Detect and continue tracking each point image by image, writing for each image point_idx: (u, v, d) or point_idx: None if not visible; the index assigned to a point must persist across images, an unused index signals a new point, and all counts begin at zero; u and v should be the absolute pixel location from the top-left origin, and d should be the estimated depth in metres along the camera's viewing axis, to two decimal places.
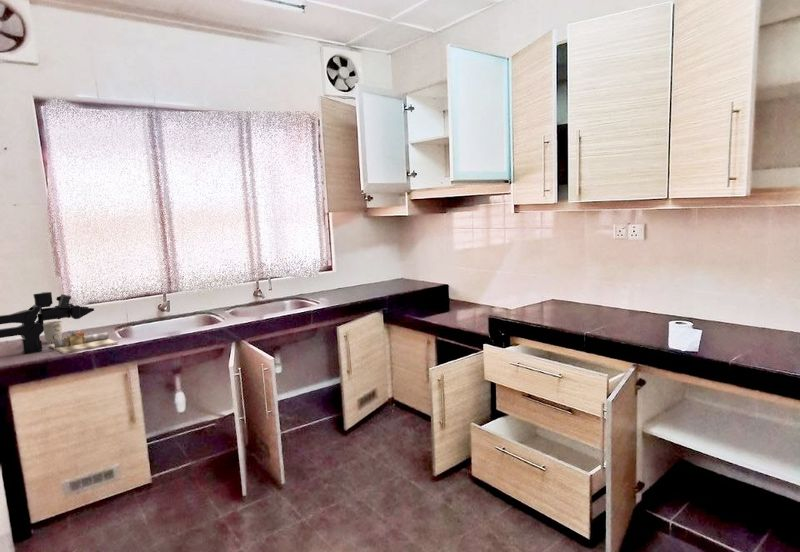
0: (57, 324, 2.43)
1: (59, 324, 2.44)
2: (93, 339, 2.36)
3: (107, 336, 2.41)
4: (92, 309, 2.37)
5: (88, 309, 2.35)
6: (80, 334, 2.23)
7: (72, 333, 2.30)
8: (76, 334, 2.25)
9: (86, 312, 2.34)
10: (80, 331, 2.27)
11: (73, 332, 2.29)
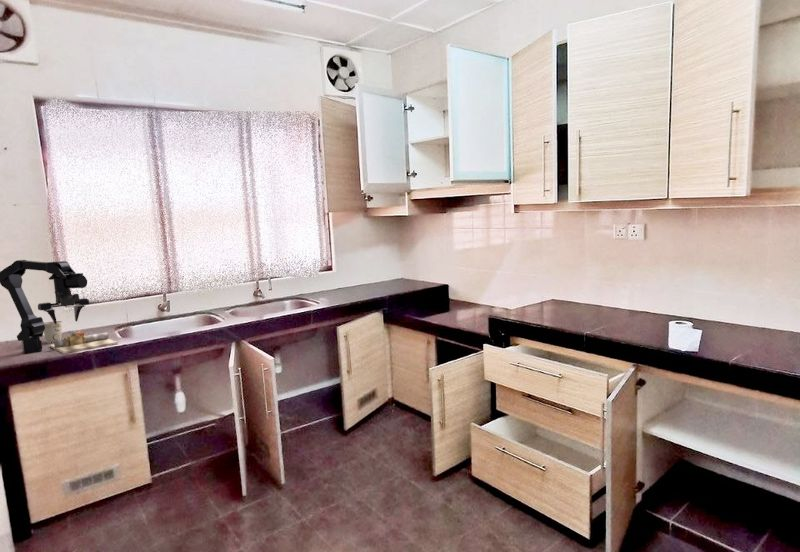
0: (57, 324, 2.43)
1: (59, 324, 2.44)
2: (93, 339, 2.36)
3: (107, 336, 2.41)
4: (54, 322, 2.18)
5: (52, 319, 2.17)
6: (80, 334, 2.23)
7: (72, 333, 2.30)
8: (76, 334, 2.25)
9: (51, 316, 2.18)
10: (80, 331, 2.27)
11: (73, 332, 2.29)
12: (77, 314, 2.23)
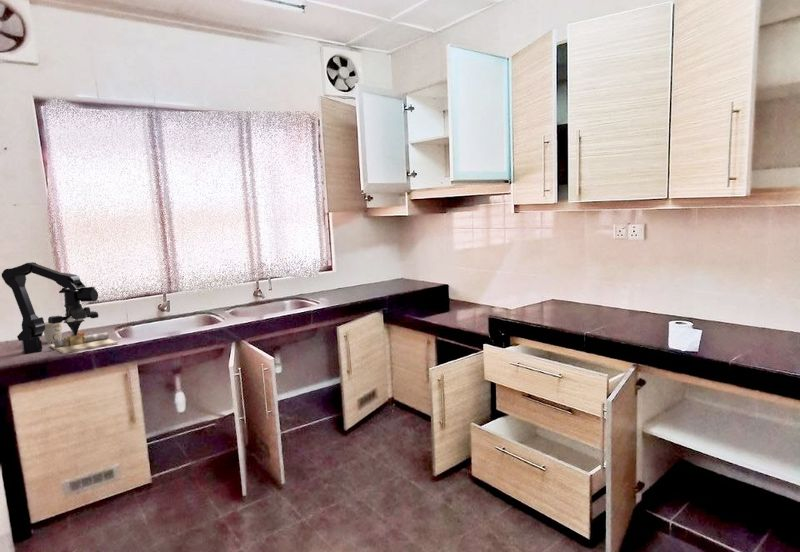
0: (57, 324, 2.43)
1: (59, 324, 2.44)
2: (93, 339, 2.36)
3: (107, 336, 2.41)
4: (74, 334, 2.23)
5: (72, 330, 2.23)
6: (80, 334, 2.23)
7: (72, 333, 2.30)
8: None
9: (70, 328, 2.23)
10: (80, 331, 2.27)
11: None
12: (77, 328, 2.23)
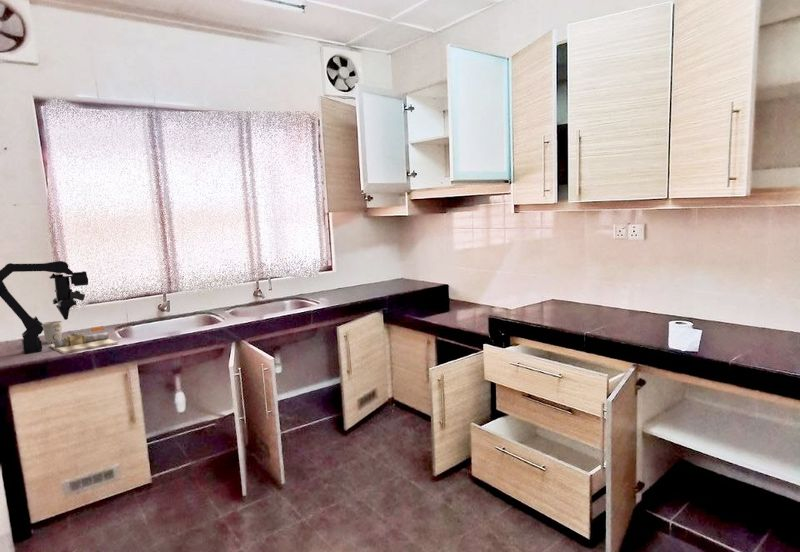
0: (57, 324, 2.43)
1: (59, 324, 2.44)
2: (93, 339, 2.36)
3: (107, 336, 2.41)
4: (66, 318, 2.31)
5: (66, 314, 2.31)
6: None
7: (76, 332, 2.31)
8: (94, 329, 2.36)
9: (63, 312, 2.30)
10: None
11: (79, 331, 2.32)
12: None
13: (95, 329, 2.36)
